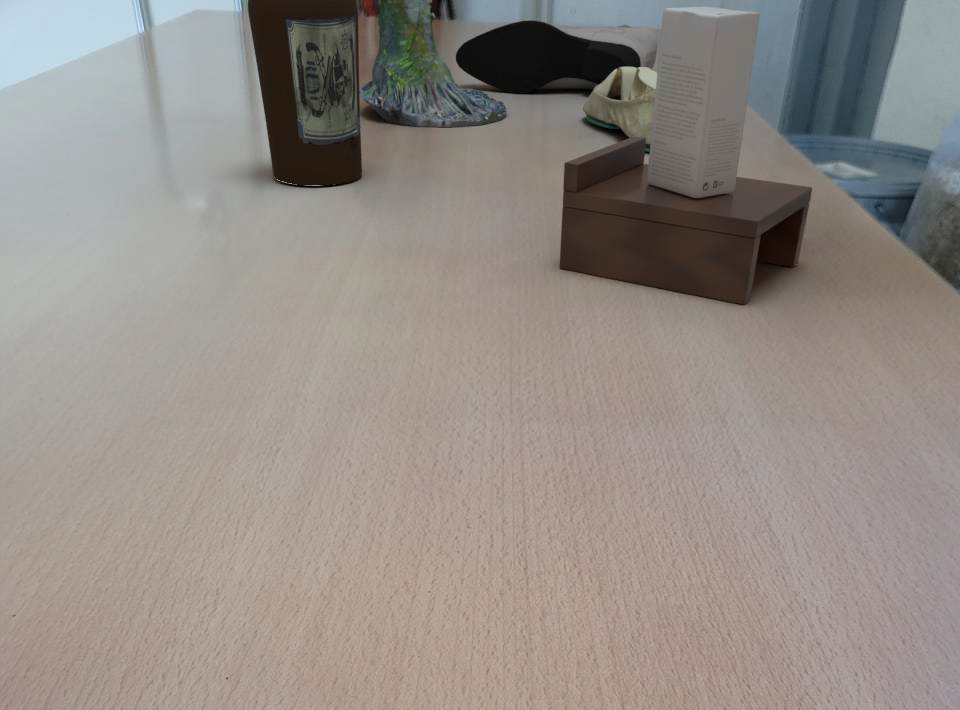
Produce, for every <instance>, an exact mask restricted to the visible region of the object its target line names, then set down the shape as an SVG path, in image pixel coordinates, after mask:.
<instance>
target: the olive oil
mask: <svg viewBox="0 0 960 710" xmlns="http://www.w3.org/2000/svg"><path fill="white" fill-rule="evenodd" d="M247 13H248V14H247V15H248V20H249V26H250V33H251V38H252V43H253V50H254V56H255V62H256V68H257V74H258V81H259V85H260V86H259V87H260V94H261V100H262V106H263V112H264V119H265V125H266V132H267V139H268V146H269V153H270V161H271V167H272V174H273V178H274V177H275V178H276V179H278V180H280V181H284V182H287V183H292V184H297V185H332V186H335V185H334V184H339V185H344V184H348V183H349V184H350V183H352V182H354V181H357V180H358V179H360V178H361V177H362V175H363V162H362V160H363V159H362V136H361V106H360V105H361V103H360V102H361V100H360V98H361V96H360V95H359V94H360V93H359V91H360V58H359V57H360V54H359V53H360V52H359V51H360V50H359V49H360V48H359V47H360V46H359V44H360V43H359V7H358V1H357V0H247ZM275 178H274V179H275ZM276 179H275V180H276ZM343 183H344V184H343Z"/></svg>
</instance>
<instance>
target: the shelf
mask: <svg viewBox="0 0 960 710" xmlns="http://www.w3.org/2000/svg"><path fill="white" fill-rule="evenodd" d="M645 145H646V138H642V137H635V136H634V137H631V138H629V137H628V138H626V139H623V140H621V141H618V142H615V143H613V144H610V145H608V146H605V147H603V148H600V149H596V150H595V151H591V152H589V153H587V154H584V155H582V156H579V157H577V158H574V159H571V160H568V161H566V162H564V166H563V167H564V169H563V184H562V185H563V187H562V188H563V189H562V190H563V191H562V210H561V211H562V212H561V229H560V249H559V269H562V270H568V271H573V272H578V273H583V274H587V275H588V274H589V275H593V276H598V277H601V278H608V279H613V280H618V281H622V282H627V283H633V284H638V285H642V286H648V287H653V288H658V289H662V290H667V291H668V290H669V291H674V292H677V293H683V294H688V295H693V296H698V297H702V298H703V297H704V298H709V299H714V300H717V301H722V302H729V303H734V304H739V305H746V304H748V302H750V301H751V297H752V290H753V285H754V279H755V274H756V273H755V272H756V267H757V262H758V263H759V262H760V263H765V264H769V263H772V264H771V265H775V264H777V265H776V266H781V265H784V266H783V267H786V266H790V267H789V268H792V267H793V268H795V267H796V266H797V265H798V264H799V261H800V255H801V249H802V244H803V239H804V234H805V229H806V225H807V224H806V223H807V218H808V214H809V209H810V208H809V207H810V202H811V198H812V192H813V187H812V186H807V185H806V186H805V185H797V184H791V183H784V182H778V181H770V180H762V179H756V178H748V177H743V176H741V177H740V176H737V177H736V184H735V190H734V192H731V193H726V194H719V195H714V196H708V197H703V198H692V197H689V196H686V195H682V194H679V193H676V192H673V191H669V190H666V189H663V188H659V187H656V186H653V185H649V184H647V175H648V164H649V163H645V156H646V155H645V154H646V151H645ZM796 264H797V265H796ZM795 265H796V266H795ZM791 266H792V267H791ZM794 266H795V267H794Z"/></svg>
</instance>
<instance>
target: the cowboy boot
mask: <svg viewBox="0 0 960 710" xmlns="http://www.w3.org/2000/svg"><path fill="white" fill-rule="evenodd" d="M658 41H659V40H658V36H657V33H656V32H655V29H653V28H651V27H650V26H645V25H644V26H643V25H642V26H634V27H632V26H630V25H628V24H623V25H619V26H618V25H617V26H594V27H592V26H591V27H585V28H580V29H579V28H578V29H573V28H566V27H561V26H556V25H552V24H550V23H548V22H545V21H539V20H534V19H532V20H520V21H515V22H511V23H508V24H505V25H502V26H499V27H496V28H493V29H489V30H488V31H485V32H484V33H481V34H479V35H476V36H474V37H472V38H470V39H468V40H466V41H465V42H463V43H462V45H460V47H458V50H457V51H456V53H455V62H456V64H457V66H458V67H459V68H460V69H461V70H462V71H463V72H464V73H466V74H468V75H469V76H471V77H472V78H474V79H476V80H477V81H480V82H482V83H483V84H486V85H488V86H490V87H492V88H494V89H497V90H499V91H503V92H505V93H511V94H518V95H519V94H528V93H531V92H534V91H536V90H542V89H544V90H545V89H547V90H548V89H559V90H560V89H561V90H570V89H575V90H594V88H595V87H596V86H597V85H599V84H601V83H602V82H603V81H604V80H605V79H606V78H607V77H608V76H609V75H610V74H611V73H612V72H613V71H614V70H615V69H619V68H620V67H636V68H638V67H647V68H650V69H651V70H653V67H654V66H655V64H656V59H657V52H658V43H659V42H658Z"/></svg>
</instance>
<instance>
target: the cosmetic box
mask: <svg viewBox="0 0 960 710" xmlns="http://www.w3.org/2000/svg"><path fill="white" fill-rule="evenodd" d="M760 15H761V14H760V12H757V11H748V10H747V11H745V10H735V9H729V8H721V7H713V6H688V7H687V6H686V7H684V6H683V7H667V8H663V11H662V20H661V29H660V43H659V52H658V53H659V55H658V63H657V71H656V72H657V82H656V92H655V103H654V113H653V123H652V134H651V144H650V152H649V155H648V163H647V164H648V175H647V184H649V185H653V186H656V187H659V188H663V189H666V190H669V191H673V192H676V193H679V194H682V195H686V196H689V197H692V198H703V197H708V196H714V195H719V194H726V193H731V192H734V190H735V184H736V177H738V176H737V175H738V170H739V169H738V168H739V161H740V156H741V149H742V141H743V134H744V127H745V120H746V113H747V106H748V100H749V99H748V98H749V92H750V85H751V78H752V73H753V64H754V57H755V51H756V43H757V36H758V29H759V22H760Z"/></svg>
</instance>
